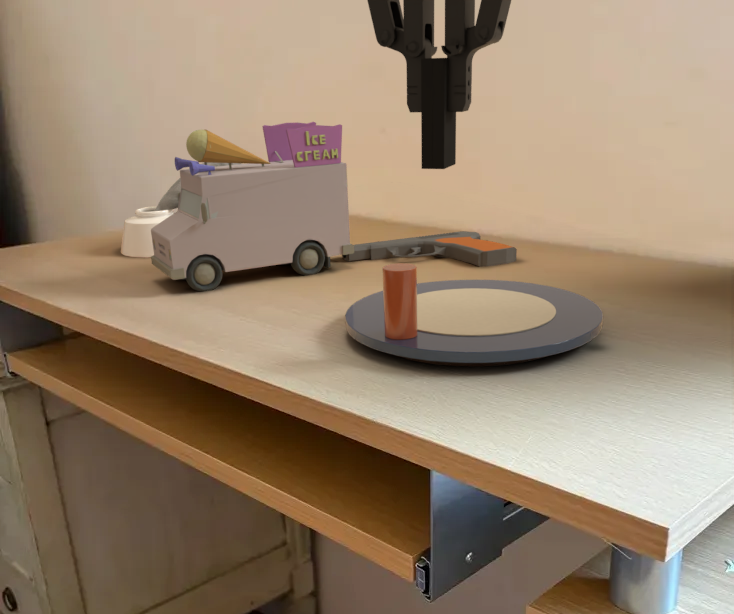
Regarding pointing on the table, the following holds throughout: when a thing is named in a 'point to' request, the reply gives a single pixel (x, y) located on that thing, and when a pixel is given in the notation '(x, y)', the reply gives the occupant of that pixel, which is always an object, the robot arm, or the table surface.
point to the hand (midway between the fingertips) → (438, 166)
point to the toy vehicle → (257, 206)
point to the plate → (470, 319)
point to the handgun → (438, 249)
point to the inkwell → (151, 221)
